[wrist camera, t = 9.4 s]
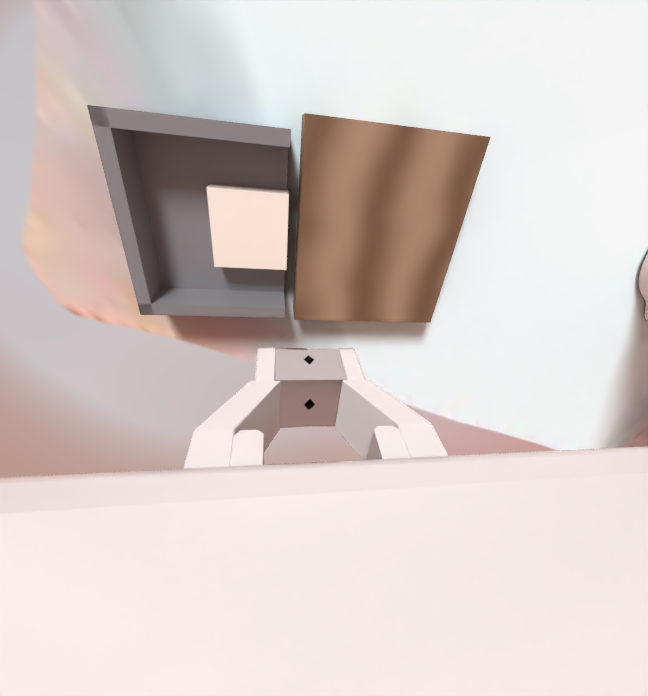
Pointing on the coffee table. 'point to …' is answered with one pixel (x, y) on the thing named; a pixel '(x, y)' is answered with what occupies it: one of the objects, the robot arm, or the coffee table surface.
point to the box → (187, 207)
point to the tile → (248, 226)
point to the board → (378, 217)
